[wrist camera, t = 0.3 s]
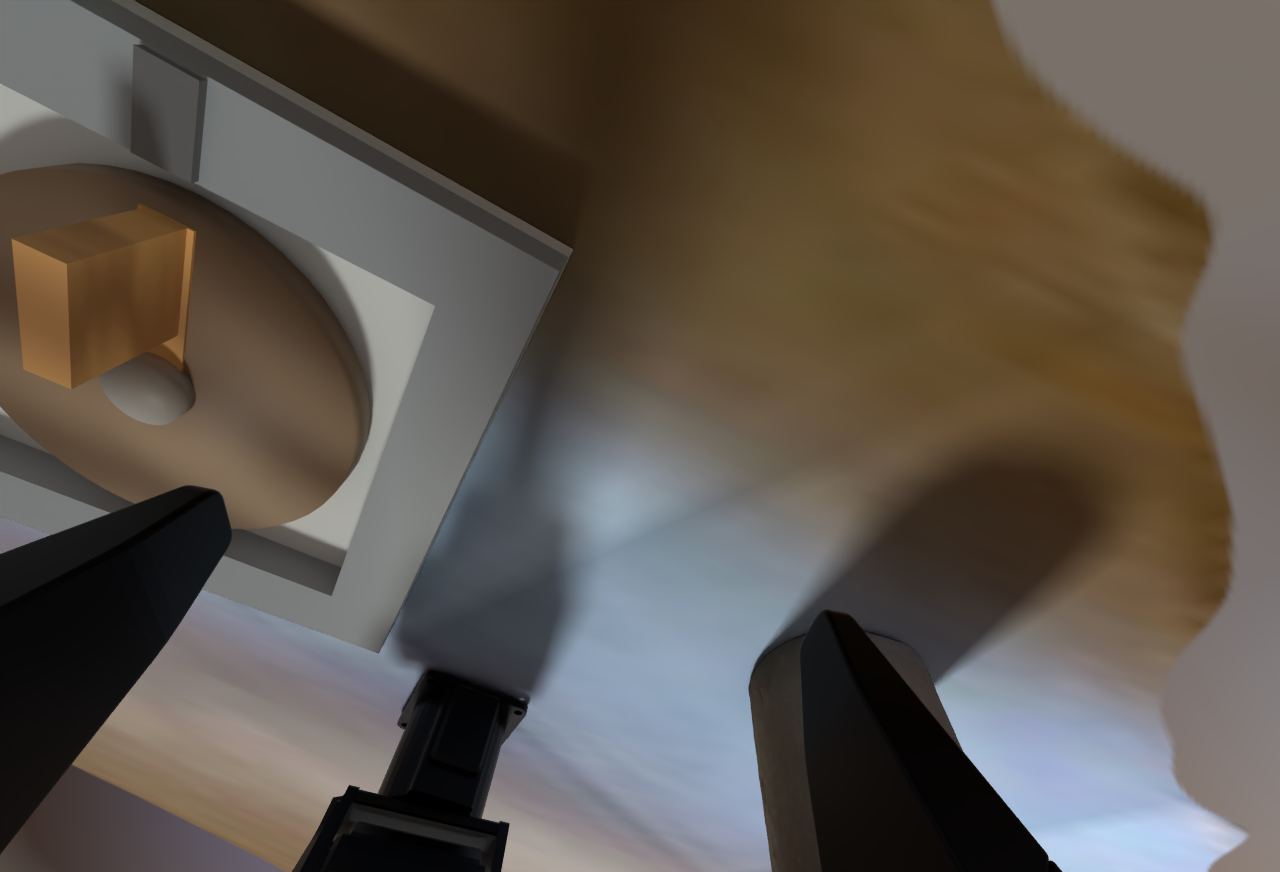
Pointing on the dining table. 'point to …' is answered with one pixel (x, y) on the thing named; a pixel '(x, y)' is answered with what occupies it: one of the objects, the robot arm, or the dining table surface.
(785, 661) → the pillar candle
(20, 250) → the dial
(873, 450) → the dining table surface
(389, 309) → the dial plate
